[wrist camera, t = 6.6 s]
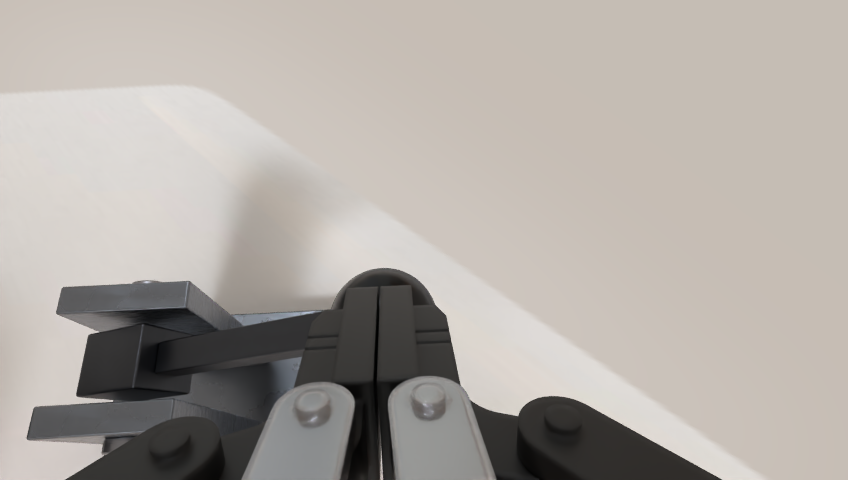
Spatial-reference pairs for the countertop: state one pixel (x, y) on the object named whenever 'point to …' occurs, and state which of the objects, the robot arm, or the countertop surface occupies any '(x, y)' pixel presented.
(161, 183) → the countertop surface
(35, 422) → the bracket
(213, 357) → the tap lever
